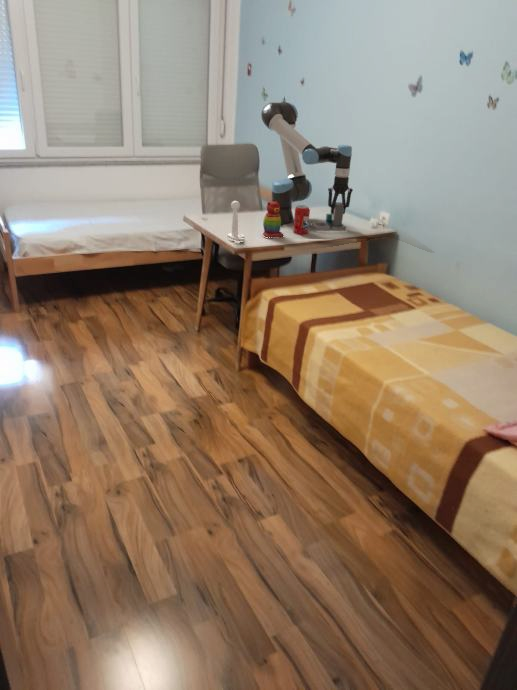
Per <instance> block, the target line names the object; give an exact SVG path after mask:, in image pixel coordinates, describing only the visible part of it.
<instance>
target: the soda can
mask: <svg viewBox="0 0 517 690" xmlns="http://www.w3.org/2000/svg"><path fill="white" fill-rule="evenodd" d="M310 211H311V210H310V207H309V205H303V204H302V205H301V204H299V205H296V207H295V209H294V214H293V218H294V222H293V231H292V232H293V234H295V235H300V236H305V235H308V234H309V225H310V213H311V212H310Z"/></svg>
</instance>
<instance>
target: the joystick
mask: <svg viewBox="0 0 517 690" xmlns="http://www.w3.org/2000/svg"><path fill="white" fill-rule="evenodd" d="M230 207H231V210H232V224H231V232H230V233H227V238H228V237H229V238H231V239H233V240H236V241H244V242H245V235H244V234H239V224H238V222H239V218H238V217H239V215H238V211H239V209H240V207H241V203H240V201H238V200H233V201H232V202H231V203H230Z"/></svg>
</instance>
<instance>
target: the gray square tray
mask: <svg viewBox="0 0 517 690" xmlns="http://www.w3.org/2000/svg"><path fill="white" fill-rule="evenodd" d="M309 225H310V226H311V227H312V228H313V229H314V230H315V231H316V233H348V230H331V229H330V226H329V225H328V224H327V223H326V221H323V222H322V221H316V222H315V221H313V222H311V223H309Z"/></svg>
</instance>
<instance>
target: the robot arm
mask: <svg viewBox="0 0 517 690" xmlns="http://www.w3.org/2000/svg"><path fill="white" fill-rule="evenodd" d="M298 114H299V113H298V110H297V108H296V106H295V105H294V104H293V103H291V102H287V101H282V102H268V103H267V104H266V105H265V106H264V107H263V108H262V110H261V114H260V115H261V120H262V122H263V124H264V125H265V126H266V128H268V129H269V130H270V131H272V132H273V131H274V132H275V133H276V134H278V136H279V139H280V144H281V149H282V156H283V160H284V164H285V169H286V174H287V177H286V178H279V179H276V180H274V181H273V182H272V187H271V202H276V201H278V202H279V206H280V211H279V212H278V213H279V214H280V218H281V226H284V225H290V224H294V214H293V209H292V207H293V206H292V205H293V203H295V202H301V201H304V200H307V199H308V198H309V197H310V195H311V194H312V191H313V190H312V189H313V185H312V183H311V181H310V180H309V179H307V177H306V174H305V173H304V172H303V170H302V164H301V159H300V155H301V157H302V160H303V163H304V164H305V165H312V166H313V165H317V164H323V163H330V164H331V163H332V164H335V169H334V179H333V185H332V187H328V188H327V191H328V198H327V199H328V201H327V206H328V208H330V214H332V220H334V218H335V208H334V207H335V204H336V202H337V201H338V197H339V195H341V203H342V204H344V208H343V215H345V214H346V209H347V208H350V203H351V196H352V192H354V191H353V188H352V187H349V179H350V178H349V176H350V169H351V162H352V161H351V160H352V156H353V155H352V153H353V152H352V151H353V148H352V147H353V146H352V145H347V144H340V145H339V144H338V146H337V148H336V147H330V146H325V145H323V146H322V145H321V146H320V147H318V148H317V147H316V146H315V145H313V144H312V143H311V142H309V140H307V139H306V138H305V137H304V136H303V135H302V134H301V133H300V132H298V130H296V129H295V128H296V125H297V124H296V122H297V121H298V120H297V119H298V117H299V116H298ZM299 154H300V155H299ZM333 191H334V194H333ZM346 192H347V195H346ZM343 218H344V216H343V217H342V221H343Z"/></svg>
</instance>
